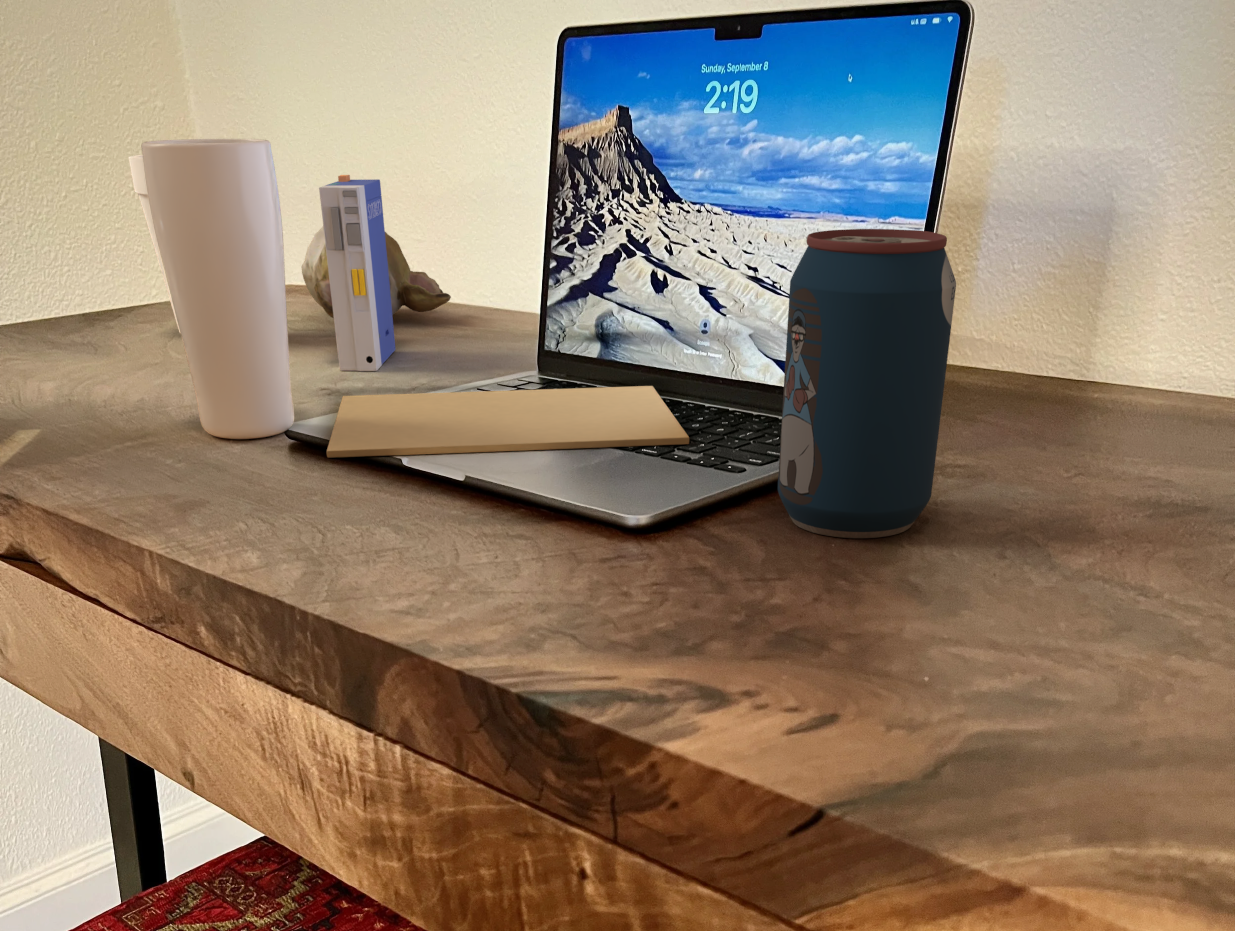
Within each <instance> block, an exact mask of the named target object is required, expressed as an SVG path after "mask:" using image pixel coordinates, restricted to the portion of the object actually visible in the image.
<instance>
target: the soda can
mask: <svg viewBox="0 0 1235 931" xmlns="http://www.w3.org/2000/svg"><path fill="white" fill-rule="evenodd" d="M947 242H948V237H947V236H946V235H945V234H941V233H937V232H932V231H926V230H919V229H918V230H917V229H897V228H896V229H895V228H894V229H893V228H850V229H831V230H829V229H828V230H821V231H814V232H812V233H809V234H808V235H807V236H806V245H807V247H806V249H805V251H804V252H803V254H802V257H801V258H800V261H799V262H798V264H797V266H796V268H795V270H794V272H793V273H792V276H791V278H790V281H789V295H788V296H789V297H788V311H787V312H788V313H787V329H786V342H785V343H786V345H785V362H784V377H783V392H782V394H783V395H782V396H783V397H782V412H781V426H780V428H781V430H780V444H779V460H778V461H779V462H778V463H779V464H778V477H777V492H778V495H779V498H780V500H781V503H782V504H783V507H784V508H785V510H786V512H787V515H788V516H789V518H790V520H791V521H792V523H793V524H794V525H795V526H797V527H798V528H800V529H802V530H805V531H807V532H809V533H813V534H817V535H821V536H828V537H835V538H842V539H843V538H844V539H845V538H846V539H876V538H884V537H890V536H895V535H898V534H901V533H903V532H905V531H907V530H909V529H910V528H911V527H912V526H913V525H914V523H915V521H916V520H917V519H918V518H919V516H920V515H921V514H922V512H923V511H924V509H925V508H926V506H927V505H928V503H929V502H930V500H931V498H932V493H933V484H934V476H935V469H936V468H935V466H936V459H937V451H938V450H937V449H938V443H939V442H938V441H939V434H940V425H941V417H942V408H943V400H944V393H945V392H944V390H945V382H946V376H947V375H946V374H947V368H948V367H947V366H948V357H949V349H950V341H951V331H952V323H953V315H954V307H955V300H956V299H955V298H956V288H957V281H956V277H955V275H954V272H953V269H952V266H951V265H952V264H951V262H950V260H949V257H948V254H947V251H946V249H945V247H946V246H947Z"/></svg>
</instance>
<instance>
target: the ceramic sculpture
mask: <svg viewBox="0 0 1235 931" xmlns="http://www.w3.org/2000/svg"><path fill="white" fill-rule="evenodd" d="M385 240H386V251H387V262H388V273H389V284H390V295H391V306H392V316H393V315H394V314H396V313H397V312H398V311H399V310H400V309H401V308H402V307H404V306H405V307H406V308H407V309H409V310H411V311H413V312H417V313H424V312H425V313H427V312H431V311H433V310H435V309H437V308H439V307H441V306H443V305H444V304H447V303H449V301H450V300H451V298H452V295H450V294H449V293H447V292H444V291H443V290H442V289H441V288H440V285H439V283H437V281H436V279H433V278H432V277H430V276H429V275H428V274H427V273H426V272H425V271H413V270H411V268H410V265H409V263H408V261H407V259H406V257H405V255H404V253H403V251H402V248H401V246H400V244H399V243H398V241H397V240H396V239H395V238H394V237H392V236H391V235H389V234H388V232H387V231H385ZM301 275H302V278H303V281H304V284H305V286H306V288H307V290H308V292H309V294H310V296H311V298H313V300H314V301H315V302H316V303H317V304H318V305H319V306H320V307H321V308H323V310H324V311H325V313H326V314H327V315H328V316H329V317H330V318H332V319H334V315H333V306H332V298H331V289H330V280H329V271H328V263H327V254H326V245H325V236H324V227H323V226H322V227H320V228H319V229H318V231H316V232H315V234H314V235H313V237H312V239H311V241H310V242H309V244H308V246H307V249H306V252H305V256H304V260H303V262H302V264H301Z"/></svg>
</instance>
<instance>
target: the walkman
mask: <svg viewBox="0 0 1235 931" xmlns="http://www.w3.org/2000/svg"><path fill="white" fill-rule="evenodd" d="M337 179H338V180H337V181H335V182H331V183H328V184H325V185H322V186H319V187H318V191H319V200H320V208H321V215H322V218H321V219H322V227H324V236H325V245H326V254H327V263H328V271H329V280H330V289H331V298H332V306H333V315H334V318H333V322H334V332H335V341H336V350H337V358H338V367H339V371H357V372H377V371H378V370H379V369H380V368H381V367H382V365H383V364H384V363H385V362H386V361H387V360H388V359H389V357H391V355H393V353H394V352H395V351H397V350H396V341H395V340H396V339H395V328H394V319H393V315H392V306H391V295H390V284H389V273H388V262H387V251H386V240H385V232H386V230H385V219H384V209H383V208H384V207H383V198H382V188H381V187H382V186H381V179H378V178H377V179H351V175H350V174H340V175H337Z"/></svg>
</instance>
